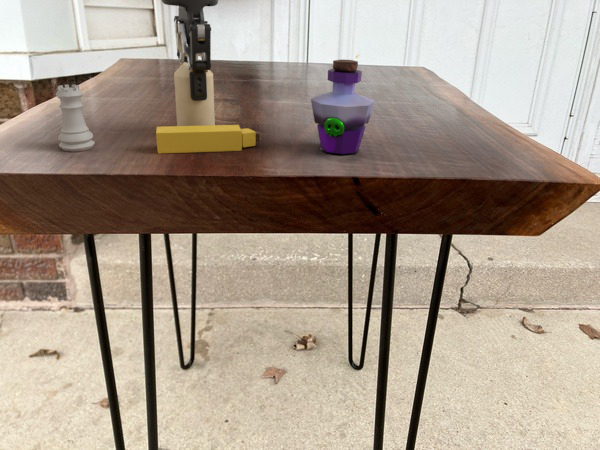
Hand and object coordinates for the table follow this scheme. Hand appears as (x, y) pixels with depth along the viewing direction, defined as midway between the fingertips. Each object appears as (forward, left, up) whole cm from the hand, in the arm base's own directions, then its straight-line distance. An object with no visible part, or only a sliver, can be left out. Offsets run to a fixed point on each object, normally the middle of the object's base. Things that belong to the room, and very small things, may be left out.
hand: (194, 95), depth 77 cm
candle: (0, 0, -6) cm, 6 cm away
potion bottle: (+19, -11, -6) cm, 23 cm away
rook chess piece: (-16, -6, -6) cm, 18 cm away
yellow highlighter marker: (+1, -8, -5) cm, 10 cm away
